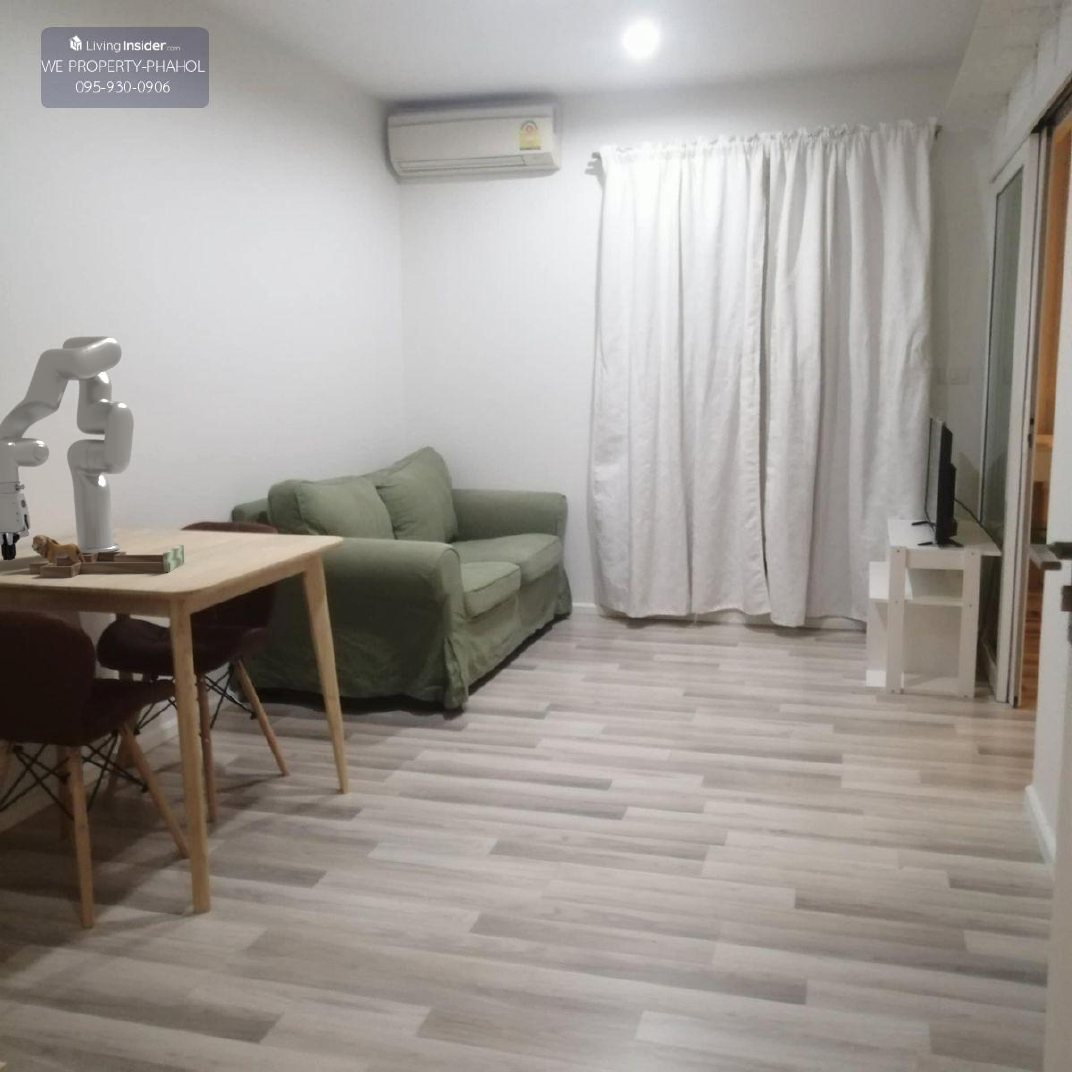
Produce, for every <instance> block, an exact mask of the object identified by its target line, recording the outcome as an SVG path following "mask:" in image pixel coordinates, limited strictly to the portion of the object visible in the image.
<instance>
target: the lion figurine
mask: <svg viewBox="0 0 1072 1072" xmlns="http://www.w3.org/2000/svg"><path fill="white" fill-rule="evenodd" d="M77 545H78V544H76V543H72V542H71V543H68V544H60V543H58V541H57V540H55V539H53V538H50V536H46V535H43V534H38V535H35V536H34V537H32V544H31V549H32V550H33V551H34V552H35V553H37V554H38V555H40V556H41V557H42V558H44V559H47V563H55V566H57V565H56V560H57V558H66V557H68V556H69V557H70V559H71V560H72V561H74V562H75V563H76V564H77V563H81V561H80V560H79V555H80V556H81V559H82V561H83V563H86V562H85V560H84V558H83V555H84V554H83V553H82V552H81V550H80V548H79V547H78V546H77Z"/></svg>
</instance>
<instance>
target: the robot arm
mask: <svg viewBox="0 0 1072 1072" xmlns="http://www.w3.org/2000/svg"><path fill="white" fill-rule="evenodd" d="M122 351H123V350H122V348H121V345H120V343H119V342H118V341H117V340H116V339H115V338H114V337H113V338H112V337H111V336H99V335H98V336H74V337H70V338H68V339H66V340H65V341H64V342H63V343H62V348H51V349H46V350H45V351H43V352H42V353H41V354H40V355H39V358H38V361H37V363H36V365H35V369H34V372H33V375H32V378H31V380H30V382H29V385H28V389H27V391H26V393H25V397H24V398H23V399H22V400H21V401H20V402H19V403H17V404H16V405H15V406H14V407H13V408H12V410H10V411H9V413H8V414H6V416H5V417H4V418H3V419H2V422H1V423H0V550H1V557H2V559H3V561H12V560H14V559H16V556H17V546H16V544H17V543H18V541H20V539H22V538H26V537H29V535H30V531H29V530H30V528H31V520H30V514H29V508H28V503H27V500H26V496H25V494H24V493H23V492H21V490H25V488H26V487H25V484H24V483H23V484H21V481H20V476H19V475H20V473H19V468H21V467H22V468H23V467H24V468H25V467H26V468H34V467H39V466H41V465H43V464H45V463H46V462H47V460H48V459H49V456H50V450H49V447H48V445H47V444H46V442H44V441H43V440H41V439H37V438H33V437H31V438H30V437H24V435H25V434H26V432H27V431H28V430H29V428H31V426H33V425H34V424H36V423H38V422H40V420H42V419H46V418H48V417H49V416H51V415H53V414H54V413H56V412H57V411H58V410H59V409H60V406H61V402H62V401H63V400H62V399H63V397H64V394H65V391H66V388H67V385H68V383H69V381H78V385H79V387H78V399H77V401H78V402H77V410H76V425H77V426H76V427H77V428H78V430H79V431H80V432H81V433H83V434H84V435H85V434H86V435H92V436H93V435H94V436H104V439H90V438H88V439H87V438H86V439H79V440H76V441H74V442H73V443H71V444H70V445H69V447H68V449H67V452H66V458H67V459H66V460H67V465H68V468H69V471H70V475H71V478H72V479H71V480H72V486H73V500H74V501H73V502H74V512H75V513H74V515H75V528H76V540H77V541H76V542H77V544H76V545H77V546H78V547H79V548H80V550H81V552H82V554H92V553H95V552H116V551H117V550H120V549H121V548H120V546H121V545H120V544H119V543H116V542H114V539H115V538H116V533H115V532H114V531H113V530H114V529H113V516H112V515H113V514H112V502H111V498H112V497H111V487H110V484H109V482H108V479H107V477H106V476H105V475H117V474H121V473H123V472H125V471H126V470H127V469H128V466H129V464H130V461H131V456H132V446H133V437H134V423H135V422H134V421H135V420H134V416H133V413H132V410H131V408H130V407H129V406H128V405H127V404H125V403H123V402H120V401H112V393H113V392H112V389H113V387H112V386H113V385H112V382H111V378H110V376H109V375H108V373H107V371H108V370H111V369H113V368H115V367H116V366H117V365H118V364H119V362H120V361H121V358H122V355H123V354H122V353H123V352H122Z"/></svg>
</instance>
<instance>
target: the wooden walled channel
mask: <svg viewBox="0 0 1072 1072" xmlns="http://www.w3.org/2000/svg"><path fill="white" fill-rule="evenodd" d="M82 555H83V558H84V560H85V562H86V563H83V561H82V559H81V556H80V554H79V560H80V561H81V563H77V564H76V563H75V562H74V561H72V560H71V559H70V557H69V556H68V557H66V558H57V560H56V566H55V563H49V562H30V563H29V573H30V574H40V578H60V577H61V578H73V577H76V576H78V575H80V574H102V573H103V574H110V573H111V574H112V573H113V574H116V573H117V574H118V573H119V574H129V573H130V574H131V573H133V574H134V572H155V573H164V572H169V571H170V570H172V571H173V569H174V570H175V568H176V567H177V568H179V567H181V566H182V565H181V564H183V563H184V564H185V547H184V544H178V545H177V546H174V547H173V548H171V549H169V550H167V551H165V552H163V553H162V554H127V551H110V552H95V553H89V554H82ZM184 564H183V565H184ZM180 565H181V566H180ZM178 566H179V567H178ZM177 568H176V569H177ZM170 572H171V571H170ZM170 572H169V573H170Z"/></svg>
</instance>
